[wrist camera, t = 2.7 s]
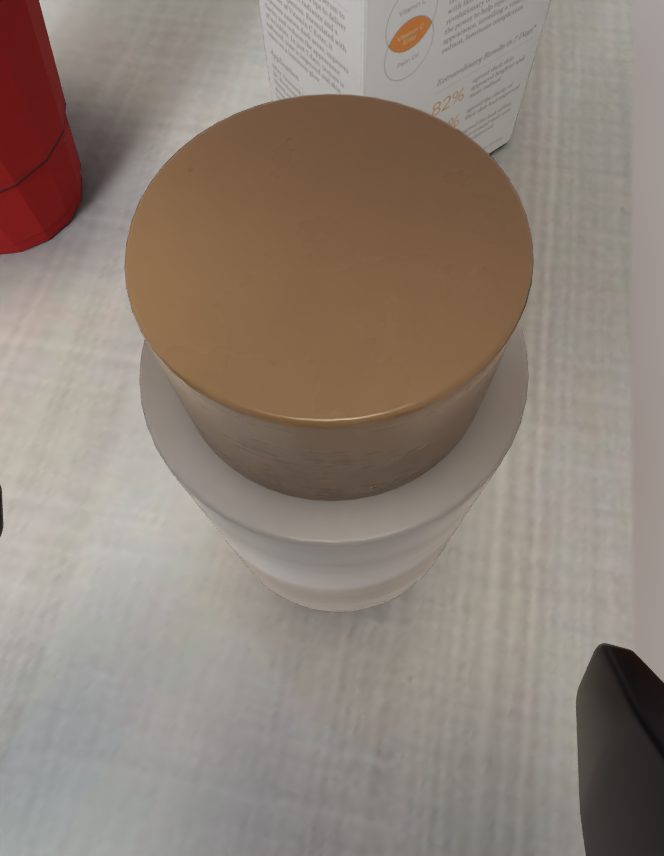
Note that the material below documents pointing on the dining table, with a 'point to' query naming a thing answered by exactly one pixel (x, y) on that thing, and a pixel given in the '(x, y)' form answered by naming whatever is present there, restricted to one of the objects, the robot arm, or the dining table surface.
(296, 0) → the small box
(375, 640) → the dining table surface
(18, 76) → the plastic cup
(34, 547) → the dining table surface
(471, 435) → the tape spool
